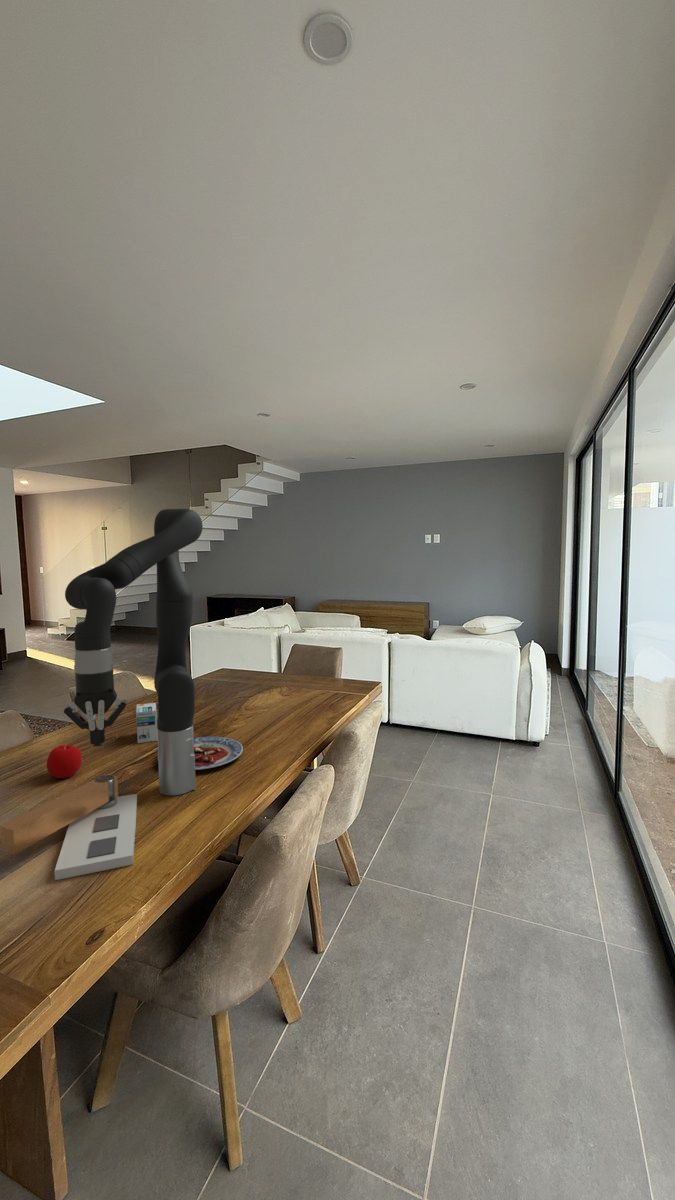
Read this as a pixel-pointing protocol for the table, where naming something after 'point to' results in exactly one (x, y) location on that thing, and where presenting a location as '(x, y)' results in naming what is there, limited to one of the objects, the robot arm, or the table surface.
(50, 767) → the fruit
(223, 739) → the ceramic plate
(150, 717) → the light bulb box
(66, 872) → the label board
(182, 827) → the table surface
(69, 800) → the swing arm
